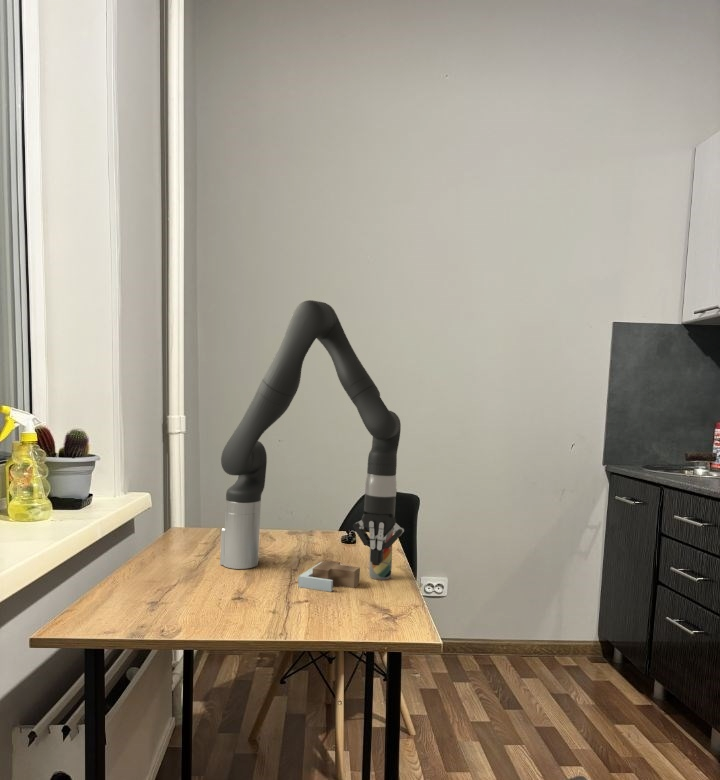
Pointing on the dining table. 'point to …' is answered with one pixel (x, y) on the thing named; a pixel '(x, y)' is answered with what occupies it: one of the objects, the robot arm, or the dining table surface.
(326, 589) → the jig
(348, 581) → the t block
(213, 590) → the dining table surface
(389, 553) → the lotion bottle
